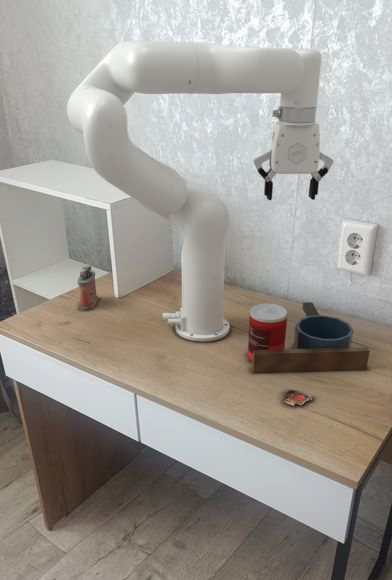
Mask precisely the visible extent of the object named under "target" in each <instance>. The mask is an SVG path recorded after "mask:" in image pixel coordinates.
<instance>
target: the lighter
mask: <svg viewBox="0 0 392 580" xmlns="http://www.w3.org/2000/svg"><path fill="white" fill-rule="evenodd" d="M96 285H97V284H96V271H94V270H92V264H85V265H83V266H82V268H81V270H80V271H79V276H78V278H77V286H78V292H79V301H80V304H79V306H80V307H79V308H80V310H81V311H84V312H85V311H86V312H87V311H90V310H91V309H93V308H95V306H96V305H97V303H98V299H99V297H98V294H97V287H96Z"/></svg>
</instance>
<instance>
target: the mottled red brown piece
mask: <svg viewBox="0 0 392 580" xmlns="http://www.w3.org/2000/svg"><path fill="white" fill-rule="evenodd" d="M282 398H283V399H284V403H285V404H287V405H290V406H295V405H299V406H302V405H303V404H304V403H306V402H307V401H312V400H313V397H312V396H311V395H310V394H307V393H304V392H301V391H299V390H295V389H288V390H287V391H286V392H284V394H283V397H282Z"/></svg>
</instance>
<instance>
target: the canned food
mask: <svg viewBox="0 0 392 580" xmlns="http://www.w3.org/2000/svg"><path fill="white" fill-rule="evenodd" d="M248 320H249V321H248V337H247V339H248V340H247V356H248V360H249V361H250V362H251V363H252V362H253V350H277V349H285V344H286V335H287V324H288V310H287V309H286V308H285V307H284V306H282V305H280V304H276V303H259V304H256V305H253V306H252V307H250V311H249V319H248Z"/></svg>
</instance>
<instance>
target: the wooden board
mask: <svg viewBox="0 0 392 580" xmlns="http://www.w3.org/2000/svg"><path fill="white" fill-rule="evenodd" d="M370 351H371V350H370V349H369V348H368V347H367V346H360V347H359V346H358V347H357V346H355V347H354V346H353V347H352V346H351V348H314V349H294V348H284V349H277V350H253V362H251V363H252V364H251V370H252V373H253V374H260V373H261V374H264V373H266V374H267V373H295V372H298V373H299V372H300V373H301V372H329V371H330V372H331V371H334V372H335V371H337V372H338V371H366V370H367V367H368V363H369V357H370Z"/></svg>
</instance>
